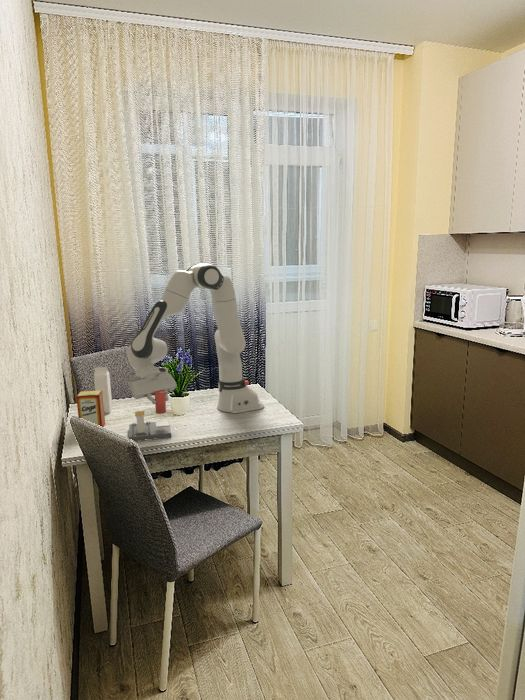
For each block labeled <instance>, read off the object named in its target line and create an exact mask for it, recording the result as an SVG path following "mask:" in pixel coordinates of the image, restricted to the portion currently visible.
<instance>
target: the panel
mask: <svg viewBox="0 0 525 700" xmlns="http://www.w3.org/2000/svg"><path fill="white" fill-rule="evenodd" d="M144 429H147V435H141V436H136V430H137V422H133V423H130V424H129V426H128V440H129V439H132V440H134V441H133V442H139V441H138V440H142V441H146V440H145V439H152V440H155V439H154V438H161V439H166V438H165V437H170V438H172V431H171V430H172V429H171V425H170V420H163V421H162V420H160V421H159V420H158V421H146V422H144Z"/></svg>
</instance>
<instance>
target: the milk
mask: <svg viewBox="0 0 525 700" xmlns="http://www.w3.org/2000/svg"><path fill="white" fill-rule="evenodd" d="M110 377H111V376H110V371H109V369H108V367H107V366H102V367H101V366H100V367H98V366H96V367H94V374H93V380H94V391H102V394H103V405H104V414H111V412H112V411H113V399H112V388H111V387H112V386H111V378H110Z"/></svg>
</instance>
